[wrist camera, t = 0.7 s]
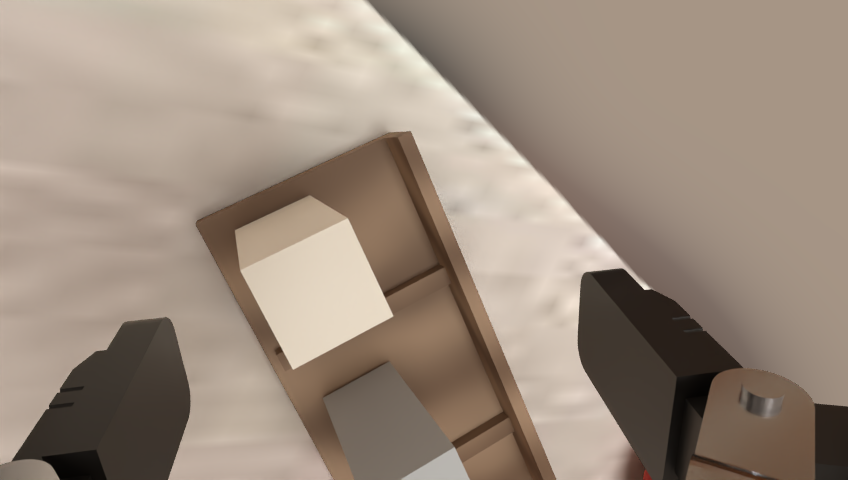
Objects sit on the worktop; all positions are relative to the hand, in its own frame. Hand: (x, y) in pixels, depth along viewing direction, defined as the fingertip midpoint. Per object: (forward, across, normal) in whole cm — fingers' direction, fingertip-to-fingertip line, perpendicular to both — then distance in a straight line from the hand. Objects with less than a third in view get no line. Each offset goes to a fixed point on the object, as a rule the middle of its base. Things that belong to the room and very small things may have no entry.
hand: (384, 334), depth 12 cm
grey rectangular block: (+17, +1, +15) cm, 23 cm away
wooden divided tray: (+19, -1, +15) cm, 24 cm away
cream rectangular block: (+18, +4, +6) cm, 20 cm away
